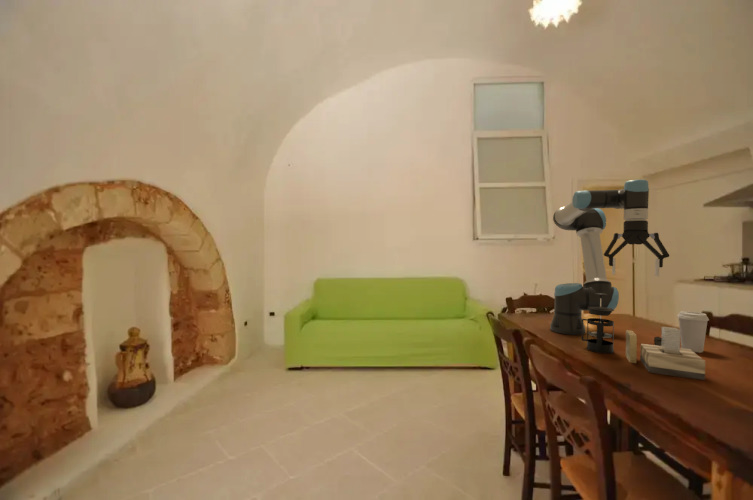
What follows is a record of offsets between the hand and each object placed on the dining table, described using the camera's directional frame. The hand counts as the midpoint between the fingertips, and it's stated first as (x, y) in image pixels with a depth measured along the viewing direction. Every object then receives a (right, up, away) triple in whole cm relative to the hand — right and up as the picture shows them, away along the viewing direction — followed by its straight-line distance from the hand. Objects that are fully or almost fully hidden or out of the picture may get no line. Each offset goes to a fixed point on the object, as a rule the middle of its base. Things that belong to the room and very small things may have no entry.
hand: (634, 275), depth 133 cm
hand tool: (+14, -31, +3) cm, 34 cm away
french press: (-10, -31, +6) cm, 33 cm away
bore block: (0, -31, -16) cm, 35 cm away
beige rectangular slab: (-6, -31, -6) cm, 32 cm away
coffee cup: (+28, -31, +6) cm, 42 cm away
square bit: (0, -29, -16) cm, 33 cm away
